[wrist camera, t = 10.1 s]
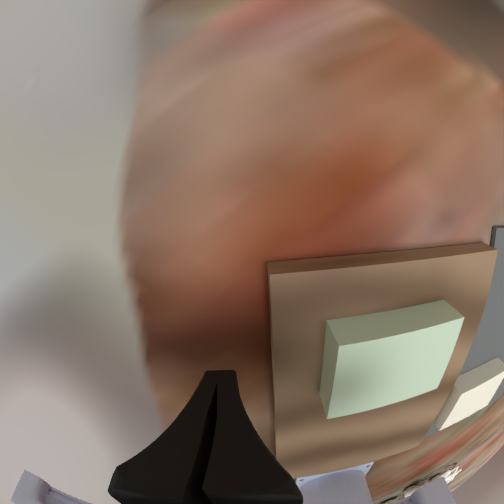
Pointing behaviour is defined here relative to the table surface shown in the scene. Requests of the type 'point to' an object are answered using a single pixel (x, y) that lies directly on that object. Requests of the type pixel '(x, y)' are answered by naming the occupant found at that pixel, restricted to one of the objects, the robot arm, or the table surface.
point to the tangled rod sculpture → (447, 475)
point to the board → (355, 304)
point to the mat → (489, 322)
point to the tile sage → (386, 356)
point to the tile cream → (471, 393)
